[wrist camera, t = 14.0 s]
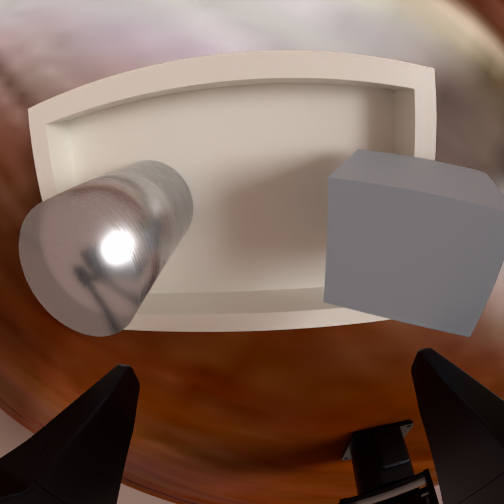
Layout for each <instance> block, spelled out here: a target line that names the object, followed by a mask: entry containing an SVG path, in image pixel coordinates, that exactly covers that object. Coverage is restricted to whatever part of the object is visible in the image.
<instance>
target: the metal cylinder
mask: <svg viewBox="0 0 504 504" xmlns="http://www.w3.org/2000/svg"><path fill="white" fill-rule="evenodd" d="M192 217H193V199H192V195H191V192H190V189H189V187H188V185H187V183H186V182H185V180H184V179H183V178H182V176H181V175H180V174H179V173H178V172H177V171H176V170H174V169H173V168H172V167H170V166H168V165H166V164H164V163H162V162H159V161H154V160H142V161H138V162H134V163H132V164H129V165H126V166H123V167H121V168H118V169H116V170H113V171H111V172H108V173H105V174H103V175H101V176H98V177H96V178H93V179H91V180H89V181H86V182H84V183H82V184H79V185H77V186H75V187H73V188H70V189H68V190H66V191H64V192H62V193H60V194H57V195H55V196H53V197H51V198H49V199H47V200H45V201H43V202H41V203H39V204H38V205H36V206H35V207H34V208H33V209H32V210H31V211H30V212H29V213H28V214H27V216H26V218H25V220H24V222H23V224H22V227H21V231H20V236H19V255H20V261H21V266H22V269H23V272H24V275H25V278H26V280H27V282H28V284H29V286H30V288H31V290H32V292H33V293H34V295H35V296H36V298H37V299H38V301H39V302H40V303H41V304H42V306H43V307H44V308H45V309H46V310H47V311H48V312H49V313H50V314H51V315H52V316H53V317H54V318H56V319H57V320H58V321H59V322H61V323H62V324H64V325H65V326H67V327H69V328H71V329H73V330H75V331H77V332H80V333H83V334H86V335H91V336H109V335H113V334H116V333H118V332H120V331H122V330H123V329H124V328H126V327H127V326H128V325H129V324H130V322H131V321H132V319H133V317H134V316H135V314H136V312H137V311H138V309H139V307H140V306H141V304H142V302H143V300H144V299H145V297H146V295H147V294H148V292H149V290H150V289H151V287H152V286H153V284H154V282H155V281H156V279H157V277H158V276H159V274H160V273H161V271H162V269H163V268H164V266H165V265H166V263H167V261H168V260H169V258H170V257H171V255H172V254H173V252H174V250H175V249H176V247H177V246H178V244H179V243H180V241H181V240H182V238H183V237H184V235H185V234H186V232H187V231H188V229H189V227H190V224H191V221H192Z"/></svg>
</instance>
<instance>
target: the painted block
mask: <svg viewBox="0 0 504 504" xmlns="http://www.w3.org/2000/svg"><path fill="white" fill-rule="evenodd" d="M503 260H504V196H503V194H502V193H501V191H500V190H499V189H498V187H497V186H496V185H495V184H494V182H493V181H492V180H491V178H490V177H489V176H488V175H487V173H486V172H483V171H479V170H475V169H471V168H467V167H463V166H458V165H454V164H449V163H444V162H439V161H434V160H429V159H424V158H418V157H412V156H406V155H400V154H393V153H386V152H378V151H370V150H362V149H358V150H357V151H356V152H354V153H353V154H352V155H351V156H350V157H349V158H348V159H347V160H346V161H345V162H344V163H343V164H342V165H341V166H340V167H338V168H337V169H336V170H335V171H334V172H333V173H332V174H331V175H330V176H329V177H328V219H327V248H326V268H325V285H324V299H323V302H325V303H329V304H333V305H336V306H340V307H344V308H348V309H352V310H356V311H360V312H364V313H368V314H372V315H376V316H380V317H384V318H388V319H392V320H397V321H401V322H405V323H409V324H414V325H418V326H422V327H427V328H431V329H435V330H440V331H444V332H449V333H453V334H458V335H463V336H467V337H470V336H471V334H472V332H473V330H474V328H475V326H476V324H477V322H478V320H479V318H480V316H481V314H482V312H483V310H484V308H485V305H486V303H487V301H488V299H489V296H490V294H491V292H492V289H493V287H494V284H495V282H496V279H497V277H498V274H499V271H500V269H501V266H502V263H503Z"/></svg>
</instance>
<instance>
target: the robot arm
mask: <svg viewBox="0 0 504 504" xmlns="http://www.w3.org/2000/svg"><path fill="white" fill-rule="evenodd" d="M411 374H412V378H413V383H414V387H415V392H416V397H417V402H418V407H419V411H420V415H421V418H422V422H423V425H424V428H425V432H426V435H427V438H428V442H429V446H430V449H431V453H432V457H433V461H434V465H435V469H436V473H437V477H438V482H439V486H440V491H441V496H442V501H443V504H504V400H502V399H501V398H500V397H498V396H497V395H496V394H494V393H493V392H491V391H490V390H489V389H487V388H486V387H485V386H483V385H482V384H481V383H479V382H478V381H476V380H475V379H474V378H472V377H471V376H470V375H468V374H467V373H465V372H464V371H463V370H461V369H460V368H458V367H457V366H456V365H454V364H453V363H452V362H450V361H449V360H447V359H446V358H445V357H443V356H442V355H440V354H439V353H437V352H436V351H435V350H433V349H432V348H425V349H420V350H419V351H418V352H417V355H416V357H415V360H414V362H413V365H412V368H411ZM139 389H140V384H139V381H138V379H137V377H136V375H135V373H134V371H133V369H132V367H131V366H130V365H123V364H119V365H117V366H116V367H114V368H113V369H112V370H111V371H110V372H109V373H107V374H106V375H105V376H104V377H103V378H101V379H100V380H99V381H98V382H97V383H95V384H94V385H93V386H92V387H91V388H89V389H88V390H87V391H86V392H85V393H83V394H82V395H81V396H80V397H79V398H78V399H76V400H75V401H74V402H73V403H72V404H70V405H69V406H68V407H67V408H66V409H64V410H63V411H62V412H61V413H60V414H58V415H57V416H56V417H55V418H54V419H52V420H51V421H50V422H49V423H48V424H47V425H46V426H44V427H43V428H42V429H40V430H39V431H38V432H37V433H36V434H34V435H33V436H32V437H31V438H29V439H28V440H27V441H25V442H24V443H22V444H21V445H20V446H18V447H17V448H15V449H14V450H12V451H11V452H9V453H7V454H6V455H4V456H3V457H1V458H0V504H117V499H118V494H119V489H120V484H121V480H122V475H123V471H124V466H125V462H126V457H127V453H128V449H129V445H130V441H131V437H132V433H133V428H134V423H135V416H136V408H137V402H138V395H139ZM412 426H413V421H412V420H410V421H406V422H402V423H399V424H394V425H390V426H386V427H382V428H377V429H372V430H367V431H362V432H357V433H354V434H352V436H351V438H350V440H349V442H348V444H347V446H346V448H345V450H344V452H343V454H342V456H341V457H342V460H349V459H352V464H353V470H354V475H355V481H356V487H357V493H358V496H354V497H350V498H344V499H340V502H339V503H338V504H371V503H374V504H439V503H438V499H437V495H436V492H435V489H434V485H433V482H432V479H431V476H430V472H429V469H426V470H424V471H423V472H421V473H419V474H416V475H415V474H414V471H413V467H412V463H411V460H410V457H409V453H408V450H407V447H406V443H405V440H404V437H405V436H406V434H407V433H408V432H409V430H410V429H411V427H412ZM423 484H425V485H426V487H424V488H421V489H419V487H418V486H421V485H423ZM416 487H417V488H416ZM413 488H415V489H413ZM411 489H413V490H411ZM408 490H410V491H408ZM406 491H408V492H406ZM403 492H405V493H403ZM401 493H403V494H401ZM398 494H400V495H398ZM395 495H397V496H395ZM393 496H394V497H393ZM390 497H392V498H390ZM387 498H389V499H387ZM384 499H386V500H384ZM381 500H383V501H381ZM378 501H380V502H378ZM375 502H377V503H375Z"/></svg>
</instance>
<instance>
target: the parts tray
mask: <svg viewBox="0 0 504 504" xmlns="http://www.w3.org/2000/svg"><path fill="white" fill-rule="evenodd" d="M28 115H29V126H30V135H31V142H32V150H33V156H34V162H35V168H36V173H37V179H38V183H39V188H40V193H41V197H42V201H45V200H47V199H49V198H51V197H53V196H55V195H57V194H60V193H62V192H64V191H66V190H68V189H70V188H73V187H75V186H77V185H79V184H82V183H84V182H86V181H89V180H91V179H93V178H96V177H98V176H101V175H103V174H105V173H108V172H111V171H113V170H116V169H118V168H121V167H123V166H126V165H129V164H132V163H134V162H138V161H142V160H154V161H159V162H162V163H164V164H166V165H168V166H170V167H172V168H173V169H174V170H176V171H177V172H178V173H179V174H180V175H181V176H182V178H183V179H184V180H185V182H186V183H187V185H188V187H189V189H190V192H191V195H192V199H193V217H192V221H191V224H190V227H189V229H188V231H187V232H186V234H185V235H184V237H183V238H182V240H181V241H180V243H179V244H178V246H177V247H176V249H175V250H174V252H173V254H172V255H171V257H170V258H169V260H168V261H167V263H166V265H165V266H164V268H163V269H162V271H161V273H160V274H159V276H158V277H157V279H156V281H155V282H154V284H153V286H152V287H151V289H150V290H149V292H148V294H147V295H146V297H145V299H144V300H143V302H142V304H141V306H140V307H139V309H138V311H137V312H136V314H135V316H134V317H133V319H132V321H131V322H130V324H129V325H128V326H127V327H126V328H124V329H123V330H142V331H175V332H229V331H262V330H283V329H299V328H313V327H325V326H336V325H347V324H356V323H365V322H374V321H382V320H390V319H388V318H384V317H380V316H376V315H372V314H368V313H364V312H360V311H356V310H352V309H348V308H344V307H340V306H336V305H333V304H329V303H325V302H323V299H324V285H325V268H326V248H327V219H328V177H329V176H330V175H331V174H332V173H333V172H334V171H335V170H336V169H337V168H338V167H340V166H341V165H342V164H343V163H344V162H345V161H346V160H347V159H348V158H349V157H350V156H351V155H352V154H353V153H354V152H356V151H357V150H358V149H362V150H370V151H378V152H386V153H393V154H400V155H406V156H412V157H418V158H424V159H429V160H434V161H435V152H436V86H435V71H434V68H430V67H426V66H422V65H418V64H413V63H408V62H404V61H398V60H393V59H387V58H381V57H375V56H368V55H360V54H351V53H341V52H328V51H307V50H269V51H248V52H235V53H225V54H216V55H208V56H200V57H194V58H187V59H181V60H176V61H171V62H166V63H161V64H156V65H152V66H147V67H143V68H139V69H135V70H131V71H128V72H124V73H120V74H117V75H114V76H110V77H107V78H104V79H101V80H98V81H95V82H92V83H89V84H86V85H83V86H80V87H78V88H75V89H72V90H70V91H67V92H65V93H62V94H60V95H57V96H55V97H53V98H50V99H48V100H46V101H44V102H41V103H39V104H37V105H35V106H33V107H31V108H29V109H28Z"/></svg>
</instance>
